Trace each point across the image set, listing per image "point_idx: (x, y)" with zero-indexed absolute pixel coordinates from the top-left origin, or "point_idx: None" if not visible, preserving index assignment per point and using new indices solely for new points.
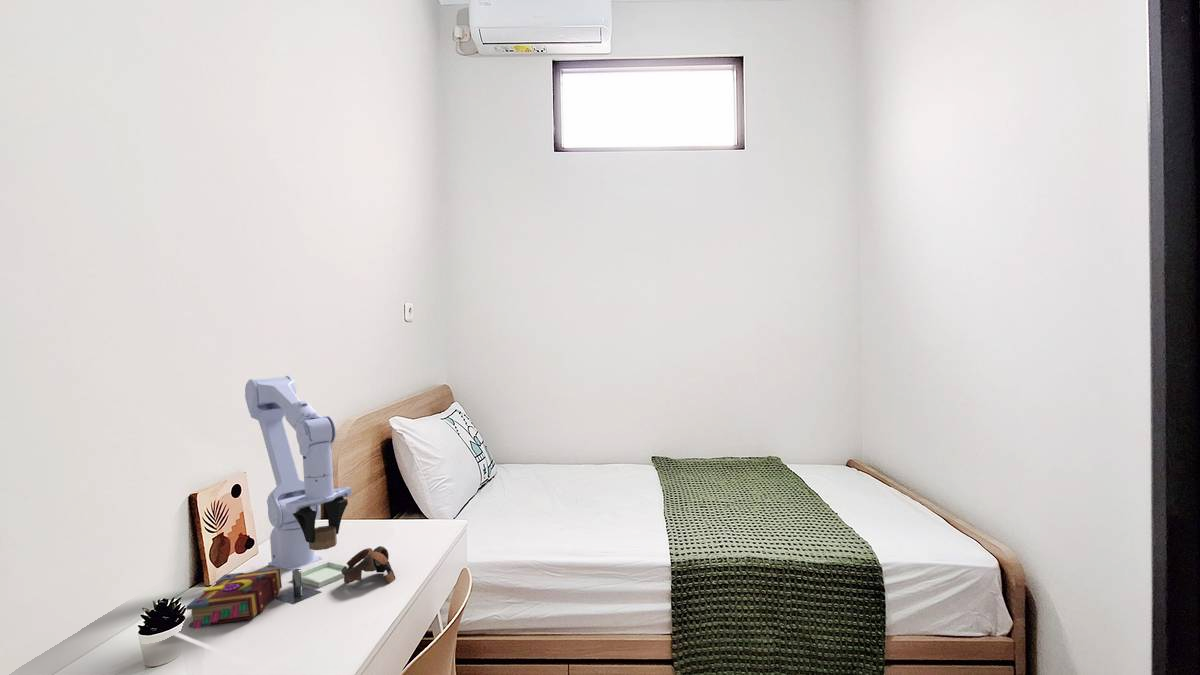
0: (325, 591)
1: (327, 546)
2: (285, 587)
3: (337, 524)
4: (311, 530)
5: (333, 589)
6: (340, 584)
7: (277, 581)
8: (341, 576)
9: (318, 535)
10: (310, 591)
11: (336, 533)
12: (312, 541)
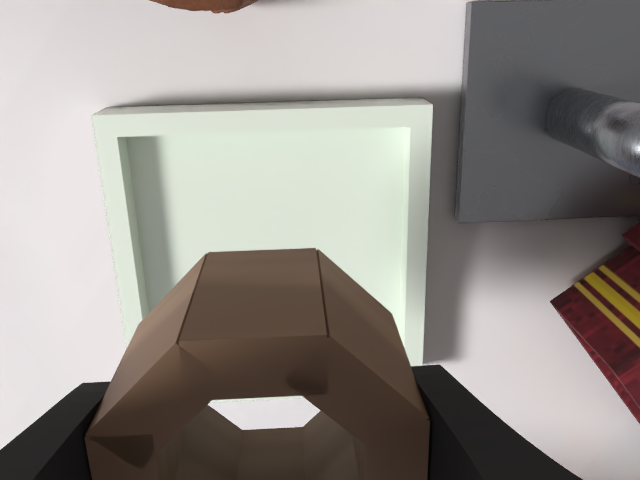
0: (420, 34)
1: (303, 257)
2: (479, 334)
3: (55, 441)
4: (515, 440)
5: (371, 11)
6: (288, 48)
7: (631, 295)
8: (239, 107)
9: (391, 376)
10: (499, 92)
11: (105, 385)
12: (443, 368)
